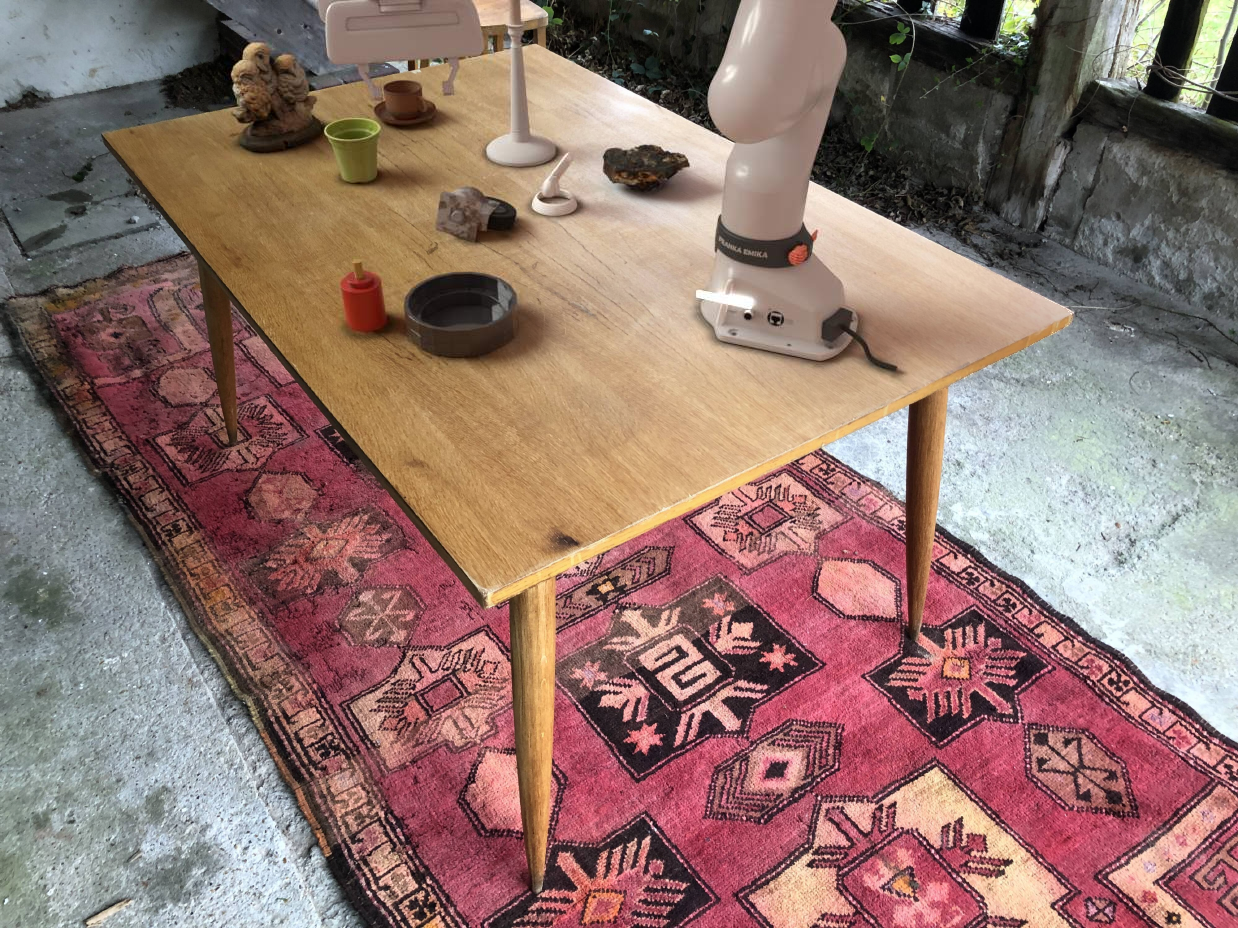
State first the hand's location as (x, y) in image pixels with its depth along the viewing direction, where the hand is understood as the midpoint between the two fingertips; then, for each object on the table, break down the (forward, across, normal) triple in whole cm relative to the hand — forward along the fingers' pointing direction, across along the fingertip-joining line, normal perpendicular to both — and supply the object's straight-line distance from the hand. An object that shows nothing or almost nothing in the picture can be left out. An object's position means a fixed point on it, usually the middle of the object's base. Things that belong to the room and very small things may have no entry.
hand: (413, 98), depth 130 cm
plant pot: (+15, -12, +42) cm, 46 cm away
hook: (+20, +20, +27) cm, 40 cm away
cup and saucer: (+8, -4, +66) cm, 67 cm away
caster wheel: (+22, +7, +21) cm, 31 cm away
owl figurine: (+9, -28, +60) cm, 67 cm away
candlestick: (+14, +17, +49) cm, 53 cm away
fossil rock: (+19, +37, +34) cm, 54 cm away
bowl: (+30, +3, -8) cm, 31 cm away
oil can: (+29, -10, -5) cm, 31 cm away
